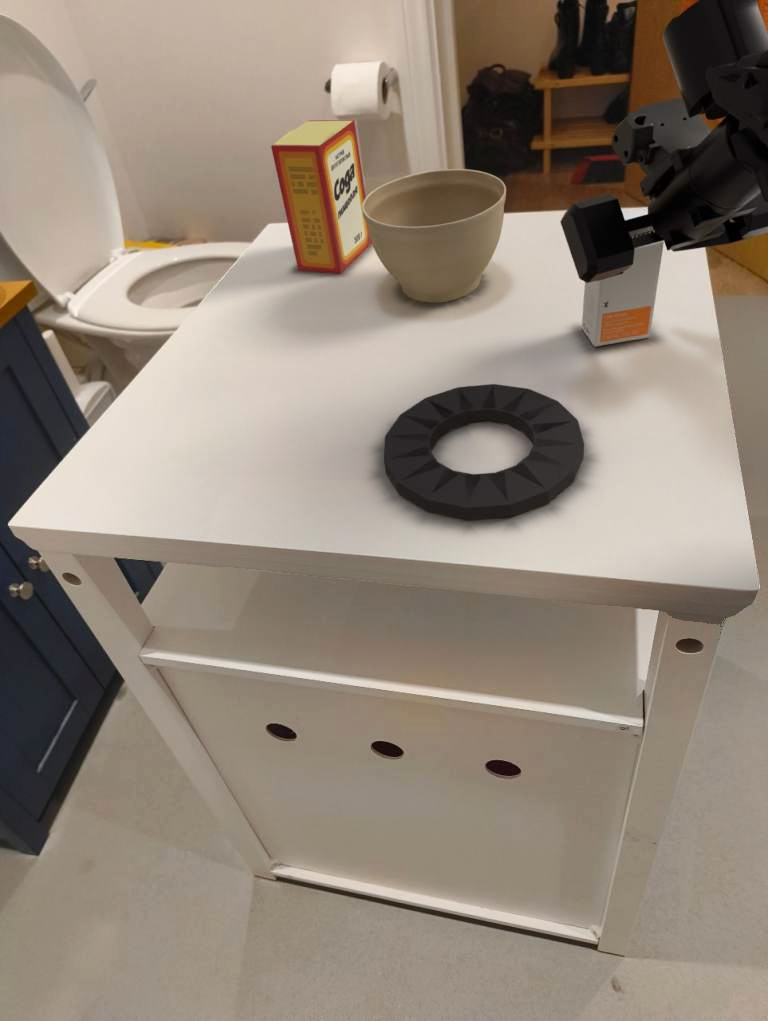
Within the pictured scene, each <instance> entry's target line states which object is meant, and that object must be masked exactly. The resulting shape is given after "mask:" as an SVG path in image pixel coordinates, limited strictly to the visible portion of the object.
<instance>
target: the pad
mask: <svg viewBox="0 0 768 1021" xmlns="http://www.w3.org/2000/svg"><path fill="white" fill-rule="evenodd" d="M579 422H580V421H579V420H578V419H577V418H576V416H574V415H573V414H572V413H571V412H570V411H569V410H568V409H567V408H566V407H565V406H564V405H563V404H562V403H561V402H560V401H558V400H557V399H554V398H552V397H549V396H548V395H545V394H543V393H540V392H539V391H538V392H537V391H535V390H533V389H531V388H526V387H519V386H511V385H505V384H497V383H489V384H479V385H466V386H457V387H454V388H451V389H448V390H445V391H442V392H439V393H436V394H432V395H429V396H427V397H425V398H422V399H421V400H420V401H418V402H417V403H415V404H414V405H413V406H411V407H409V408H408V409H406V410H404V411H403V412H402V413H400V414H399V415H398V417H397V418H396V420H395V421H394V423H393V424H392V426H390V429H389V430H388V431H387V433H386V434H385V436H384V448H383V450H384V451H383V463H384V471H385V474H386V475H387V477H388V479H389V480H390V482H391V484H392V485H393V487H394V489H395V491H396V492H397V493H398V495H399V496H401V497H402V498H404V499H405V500H407V501H408V502H410V503H411V504H413V505H415V506H416V507H418V508H420V509H422V510H423V511H425V512H427V513H428V514H434V515H438V516H443V517H448V518H453V519H457V520H461V521H467V522H473V521H486V520H499V519H510V518H514V517H516V516H519V515H523V514H525V513H527V512H530V511H534V510H536V509H538V508H541V507H544V506H547V505H548V504H550V503H551V502H552V501H553V500H554V499H556V498H558V496H560V495H561V494H562V493H563V492H564V491H565V490H566V489H568V488H569V487H570V486H572V484H573V483H574V482H575V480H576V477H577V474H578V472H579V470H580V466H581V464H582V462H583V459H584V455H585V454H584V452H585V442H584V438H583V433H582V431H581V426H580V423H579ZM480 423H493V424H498V425H499V424H500V425H505V426H508V427H511V428H513V429H515V430H517V431H520V432H522V433H523V434H524V435H525V437H526V438H527V439H528V440H529V441H530V442H531V444H532V448H531V449H530V452H529V454H528V455H527V456H525V457H524V458H522V460H520V461H519V462H518V463H517V464H515V465H513V466H510V467H508V468H505V469H502V470H501V469H500V470H498V471H496V472H487V473H486V472H485V473H475V474H474V473H468V472H464V471H458V470H453V469H452V468H450V467H448V466H446V465H444V464H443V463H440V462H439V461H438V460H437V459H436V457H435V456H434V454H433V453H432V450H433V449H434V447H435V446H436V444H437V442H438V441H439V439H440V438H442V437H443V436H445V435H446V434H447V433H449V432H450V431H452V430H453V429H457V428H460V427H463V426H466V425H469V424H480Z"/></svg>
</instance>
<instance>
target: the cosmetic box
mask: <svg viewBox="0 0 768 1021" xmlns="http://www.w3.org/2000/svg"><path fill="white" fill-rule="evenodd" d="M622 213H623V216H624V219H625V220H628V219H632V218H635V217H639V216H643V215H647V214H648V207H646V208H641V209H634V210H625V211H622ZM653 232H654V231H653ZM644 234H645V235H646V233H644ZM649 234H650V232H649ZM641 235H642V234H641ZM637 236H638V235H637ZM637 236H636V237H637ZM633 237H634V236H633ZM633 237H632V238H633ZM664 245H665V242H660V243H657V244H653V245H650V246H646V247H642V248H639V249H635V251H634V260H633V265H632V266H631V267H629V268H628V269H627V270H625V271H623V272H624V273H623V274H620V275H617V276H613V277H610V278H606V279H603V280H599V281H593V282H590V283H586V282H584V288H583V290H584V291H583V303H582V316H581V317H582V318H581V329H582V330H583V333H584V334H585V335H586V337H587V338H588V340H589V341H590V343H591V344H592V346H593V347H594V348H597V347H601V346H605V345H611V344H618V343H623V342H629V341H630V342H631V341H636V340H642V339H648V338H650V337H651V332H652V326H653V319H654V311H655V304H656V298H657V291H658V284H659V276H660V270H661V263H662V256H663V250H664Z"/></svg>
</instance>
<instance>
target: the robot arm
mask: <svg viewBox="0 0 768 1021" xmlns="http://www.w3.org/2000/svg"><path fill="white" fill-rule="evenodd" d="M661 37H662V38H661V39H662V41H663V45H664V46H665V47H664V48H665V50H666V53H667V57H668V60H669V62H670V65H671V68H672V71H673V74H674V77H675V81H676V82H677V86H678V88H679V92H680V95H681V97H674V98H670V99H666V100H662V101H658V102H654V103H650V104H647V105H642V106H641V107H639V108H638V109H637V111H633V112H630V113H627V115H626V117H624V119H622V121H621V122H619V123H618V125H617V126H616V127H615V130H614V133H613V135H612V139H611V148H612V150H613V152H614V153H615V154H616V156H617V158H618V159H619V161H620V162H621V164H622V165H623V166H628V165H629V166H630V165H632V164H638V166H639V168H640V169H641V171H642V173H644V174H645V176H644V177H643V178H642V179H641V181H639V183H638V185H639V188H640V191H641V195H642V197H643V198H649V201H648V203H647V208H648V214H647V215H643V216H639V217H635V218H632V219H628V220H625V219H624V216H623V213H622V212H623V210H622V207H621V205H620V201H619V199H618V198H617V197H616V196H614V195H612V194H611V193H607V194H603V195H599V196H595V197H592V198H587V199H584V200H580V201H576V202H573V203H572V204H571V205H570V206H569V207H568V208H567V210H566V211H565V212H564V214H563V215H562V217H561V219H560V226H561V228H562V231H563V234H564V237H565V240H566V243H567V246H568V249H569V252H570V255H571V258H572V261H573V265H574V268H575V270H576V273H577V276H578V279H579V280H581V281H583V282H584V283H585V282H586V283H590V282H593V281H599V280H603V279H606V278H610V277H613V276H617V275H620V274H623V273H624V272H623V271H625V270H627V269H628V268H629V267H631V266H632V265H633V260H634V251H635V249H639V248H642V247H646V246H650V245H653V244H657V243H660V242H664V245H665V248H666V251H667V252H668V251H672V252H673V253H675V252H682V251H691V250H696V249H703V248H710V247H717V246H722V245H730V244H734V243H736V242H737V243H738V242H740V241H741V242H742V241H744V240H747V239H752V238H753V237H756V236H760V235H763V234H766V233H768V30H767V28H766V25H765V21H764V19H763V16H762V14H761V11H760V7H759V4H758V0H698V1H696V2H694V3H693V4H692V5H690V6H689V7H688V8H686V9H685V10H683V12H681V13H680V14H679V15H677V16H674V17H673V18H672V19H670V21H669V22H668V24H666V27H665V28H664V30H663V33H662V36H661ZM701 115H704V116H705V117H706V119H707V120H708V121H715V120H716V121H717V120H719V119H722V120H721V121H720V122H719V123H718V124H717V125H716V126H715V127H714V128H713V129H712V130H711V129H710V127H709V126H708V124H707V123H706V121H705V120H704V119H703V117H702V116H701ZM653 231H654V232H653ZM649 232H650V234H649ZM644 233H646V235H645V234H644ZM641 234H642V235H641ZM637 235H638V236H637ZM633 236H634V237H633ZM636 236H637V237H636ZM632 237H633V238H632Z"/></svg>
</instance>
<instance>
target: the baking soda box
mask: <svg viewBox="0 0 768 1021" xmlns="http://www.w3.org/2000/svg"><path fill="white" fill-rule="evenodd" d="M358 142H359V141H358V136H357V129H356V122H355V119H317V120H316V119H315V120H314V119H309V120H307V121H305V122H304V123H303V124H301V125H300V126H299V127H297V128H296V129H291V130H290V131H288V132H287V133H286V134H285V135H283V136H282V137H281V138H279V139H278V140H277V141H276V142H274V143H273V144H271V146H270V149H271V152H272V156H273V161H274V167H275V170H276V176H277V179H278V184H279V189H280V193H281V198H282V202H283V206H284V212H285V216H286V220H287V226H288V230H289V234H290V239H291V243H292V248H293V253H294V257H295V261H296V268H297V270H298V271H302V272H317V273H327V274H337V275H338V274H340V275H341V274H343V273H344V272H345V271H346V269H348V267H350V265H352V263H354V262H355V261H356V259H357V258H358V257H360V256H361V255H362V254H363V252H364V251H365V250H366V249H368V247H370V245H371V244H372V242H371V239H370V236H369V232H368V228H367V223H366V221H365V219H364V216H363V212H362V204H363V201H364V199H365V198H366V197H367V196H366V192H365V184H364V177H363V169H362V164H361V157H360V156H361V155H360V149H359V143H358Z"/></svg>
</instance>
